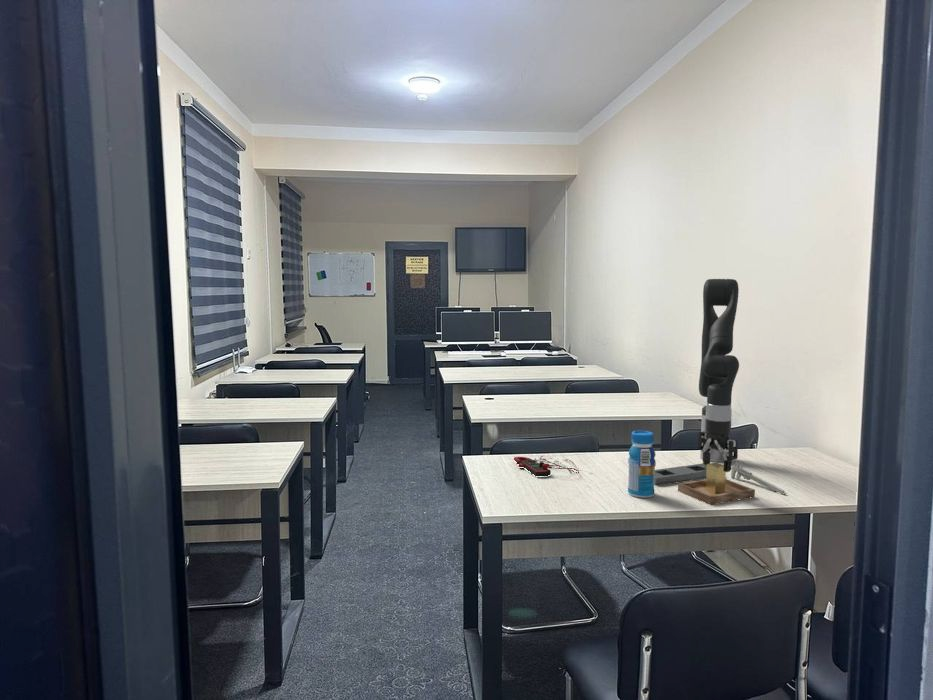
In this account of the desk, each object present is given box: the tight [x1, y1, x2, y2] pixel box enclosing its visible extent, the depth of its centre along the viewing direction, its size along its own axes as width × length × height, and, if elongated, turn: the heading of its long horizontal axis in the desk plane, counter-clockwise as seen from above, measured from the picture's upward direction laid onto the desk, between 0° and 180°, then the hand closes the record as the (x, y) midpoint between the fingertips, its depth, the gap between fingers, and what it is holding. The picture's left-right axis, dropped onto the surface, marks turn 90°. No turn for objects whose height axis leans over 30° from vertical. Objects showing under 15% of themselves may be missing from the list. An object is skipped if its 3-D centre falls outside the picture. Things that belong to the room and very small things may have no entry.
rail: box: [654, 462, 707, 487], centre depth 209 cm, size 28×8×2 cm, turn 112°
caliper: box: [730, 461, 788, 496], centre depth 199 cm, size 20×1×6 cm, turn 28°
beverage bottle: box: [627, 430, 657, 499], centre depth 191 cm, size 8×8×20 cm
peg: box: [705, 462, 727, 494], centre depth 191 cm, size 4×4×8 cm
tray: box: [677, 478, 756, 505], centre depth 191 cm, size 18×14×2 cm
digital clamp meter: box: [513, 455, 580, 476], centre depth 220 cm, size 23×4×25 cm
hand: (716, 467), depth 191 cm, fingers open, 8 cm apart
